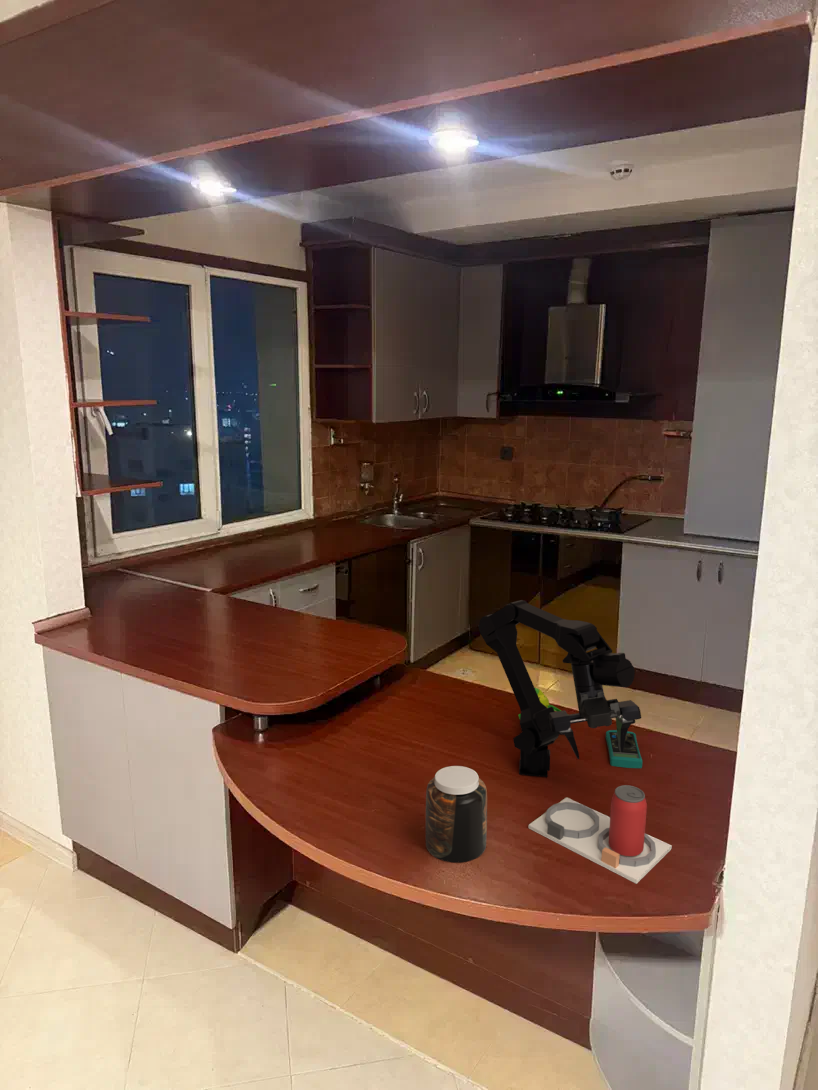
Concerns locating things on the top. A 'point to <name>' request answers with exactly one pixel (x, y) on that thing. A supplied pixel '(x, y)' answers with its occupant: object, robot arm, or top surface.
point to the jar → (456, 815)
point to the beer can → (627, 821)
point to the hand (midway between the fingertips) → (599, 755)
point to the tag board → (596, 839)
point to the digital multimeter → (630, 751)
